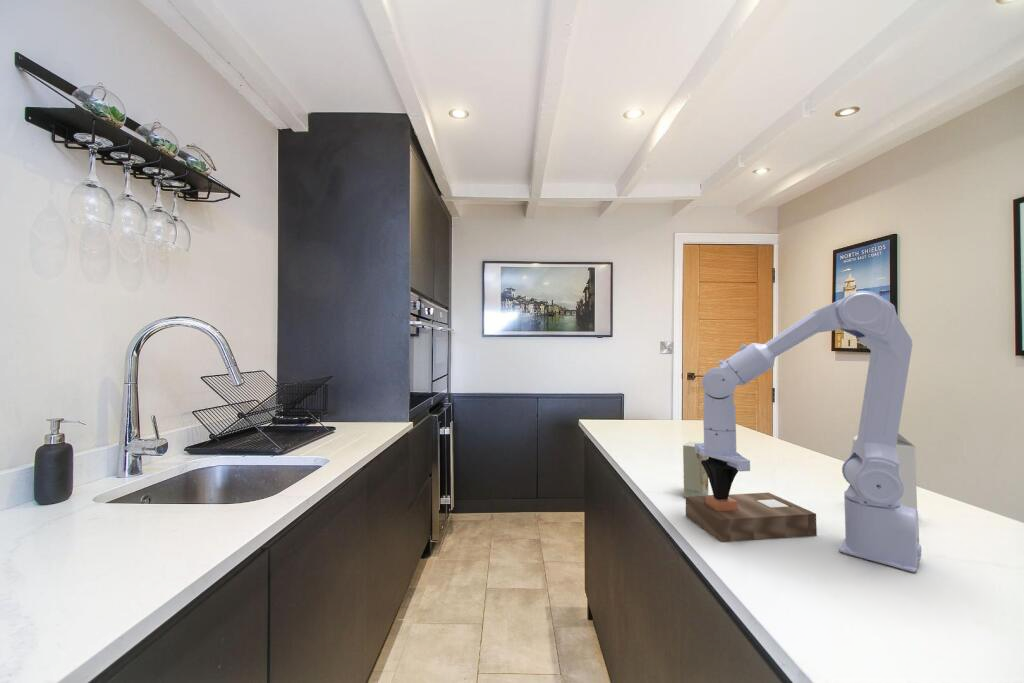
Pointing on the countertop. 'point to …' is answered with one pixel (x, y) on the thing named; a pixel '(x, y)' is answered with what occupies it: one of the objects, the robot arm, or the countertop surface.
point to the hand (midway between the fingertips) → (720, 498)
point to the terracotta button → (721, 503)
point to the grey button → (772, 503)
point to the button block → (752, 518)
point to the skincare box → (694, 472)
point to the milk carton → (906, 470)
